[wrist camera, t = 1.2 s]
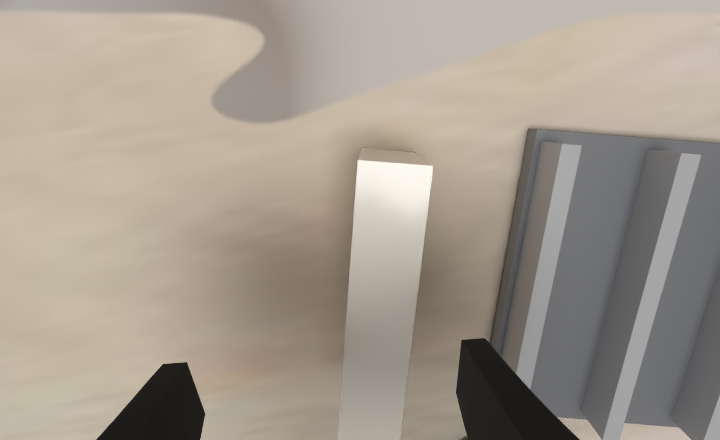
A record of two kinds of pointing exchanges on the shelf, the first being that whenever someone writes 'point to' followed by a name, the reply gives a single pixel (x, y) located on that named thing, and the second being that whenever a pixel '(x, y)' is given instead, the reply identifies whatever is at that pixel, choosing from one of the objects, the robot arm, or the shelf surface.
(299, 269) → the shelf surface
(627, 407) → the ridged grey tray
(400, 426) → the long beige block
